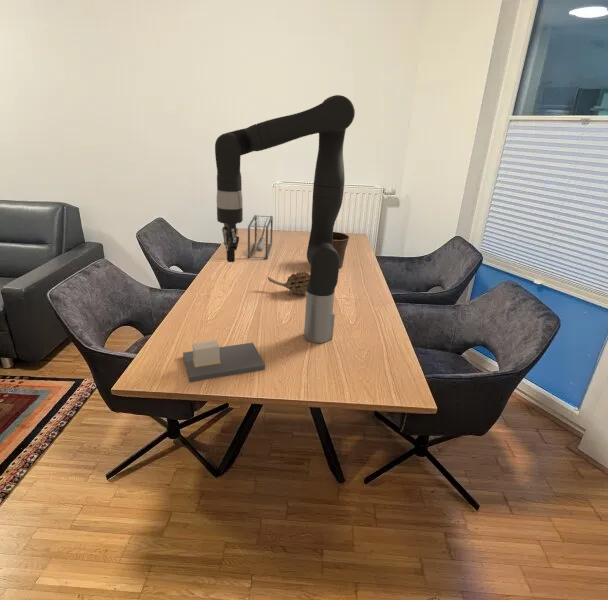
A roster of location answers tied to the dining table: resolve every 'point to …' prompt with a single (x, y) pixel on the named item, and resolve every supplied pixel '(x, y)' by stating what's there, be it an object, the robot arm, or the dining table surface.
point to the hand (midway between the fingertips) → (230, 261)
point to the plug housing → (206, 353)
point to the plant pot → (340, 245)
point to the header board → (226, 362)
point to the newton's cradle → (262, 239)
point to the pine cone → (295, 282)
